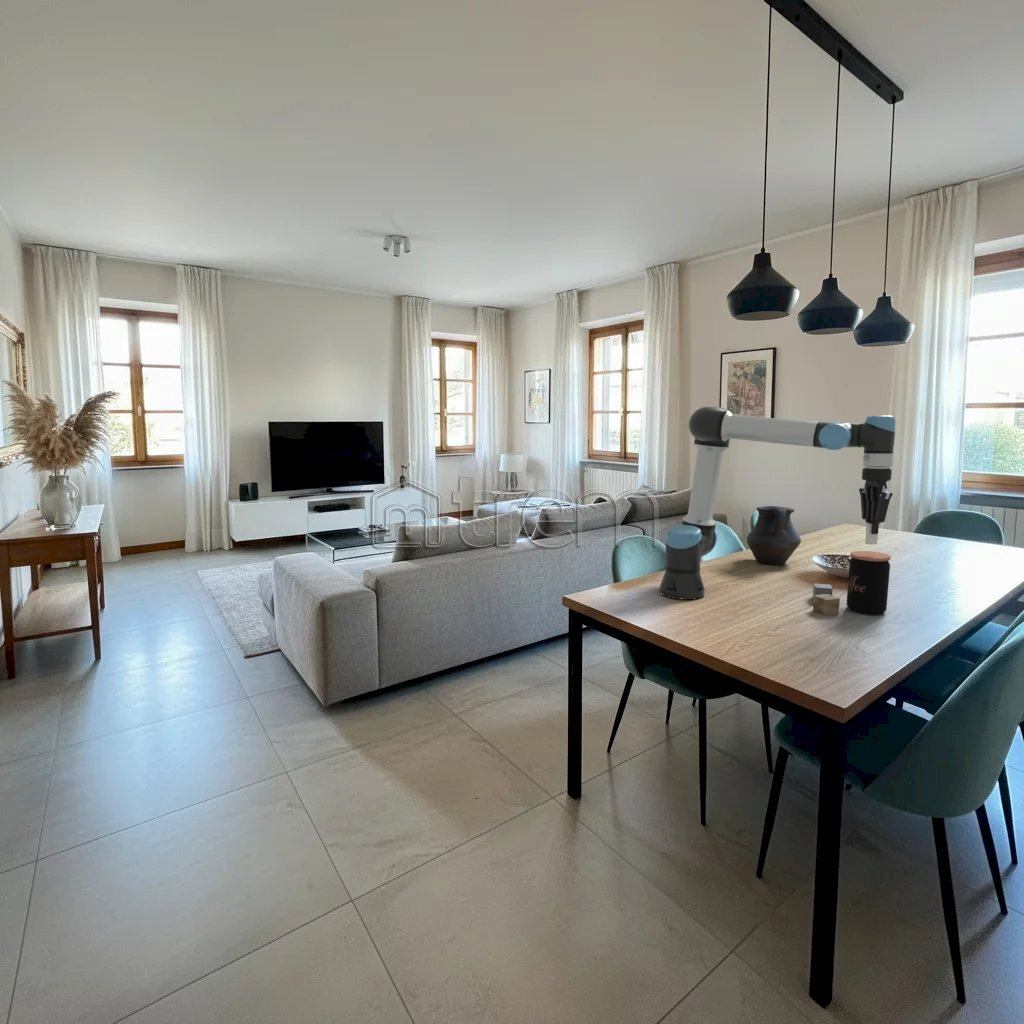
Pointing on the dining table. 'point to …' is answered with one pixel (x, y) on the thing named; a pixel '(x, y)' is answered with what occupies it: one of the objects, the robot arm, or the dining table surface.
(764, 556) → the pitcher
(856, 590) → the coffee jar
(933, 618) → the dining table surface
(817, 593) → the grey cube
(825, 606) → the walnut block
